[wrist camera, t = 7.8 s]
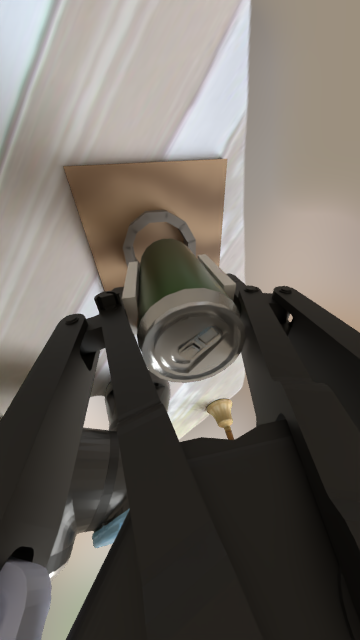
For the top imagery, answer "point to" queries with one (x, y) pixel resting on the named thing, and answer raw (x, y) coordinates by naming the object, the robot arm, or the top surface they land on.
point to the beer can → (184, 316)
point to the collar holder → (148, 210)
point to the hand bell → (222, 415)
